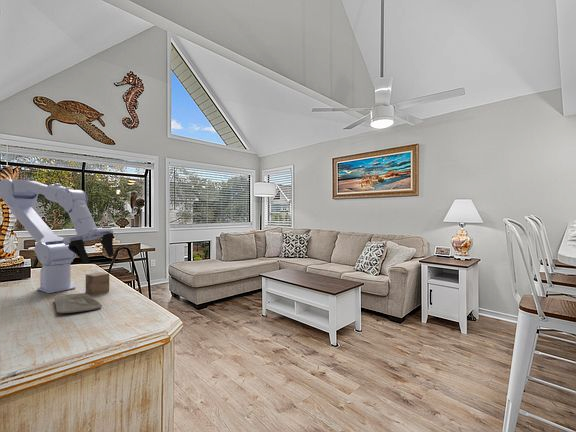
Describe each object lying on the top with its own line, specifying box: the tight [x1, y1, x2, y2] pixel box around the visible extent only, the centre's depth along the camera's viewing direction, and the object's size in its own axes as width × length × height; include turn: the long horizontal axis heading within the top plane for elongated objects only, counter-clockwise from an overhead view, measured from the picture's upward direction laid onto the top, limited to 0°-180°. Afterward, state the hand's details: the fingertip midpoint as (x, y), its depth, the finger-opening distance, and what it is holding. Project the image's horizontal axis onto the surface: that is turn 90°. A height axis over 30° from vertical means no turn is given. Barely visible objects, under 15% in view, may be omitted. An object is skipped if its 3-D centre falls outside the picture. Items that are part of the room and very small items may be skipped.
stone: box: [54, 292, 103, 314], centre depth 86 cm, size 18×3×10 cm
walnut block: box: [85, 271, 110, 295], centre depth 100 cm, size 5×5×6 cm
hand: (99, 259), depth 97 cm, fingers open, 7 cm apart
